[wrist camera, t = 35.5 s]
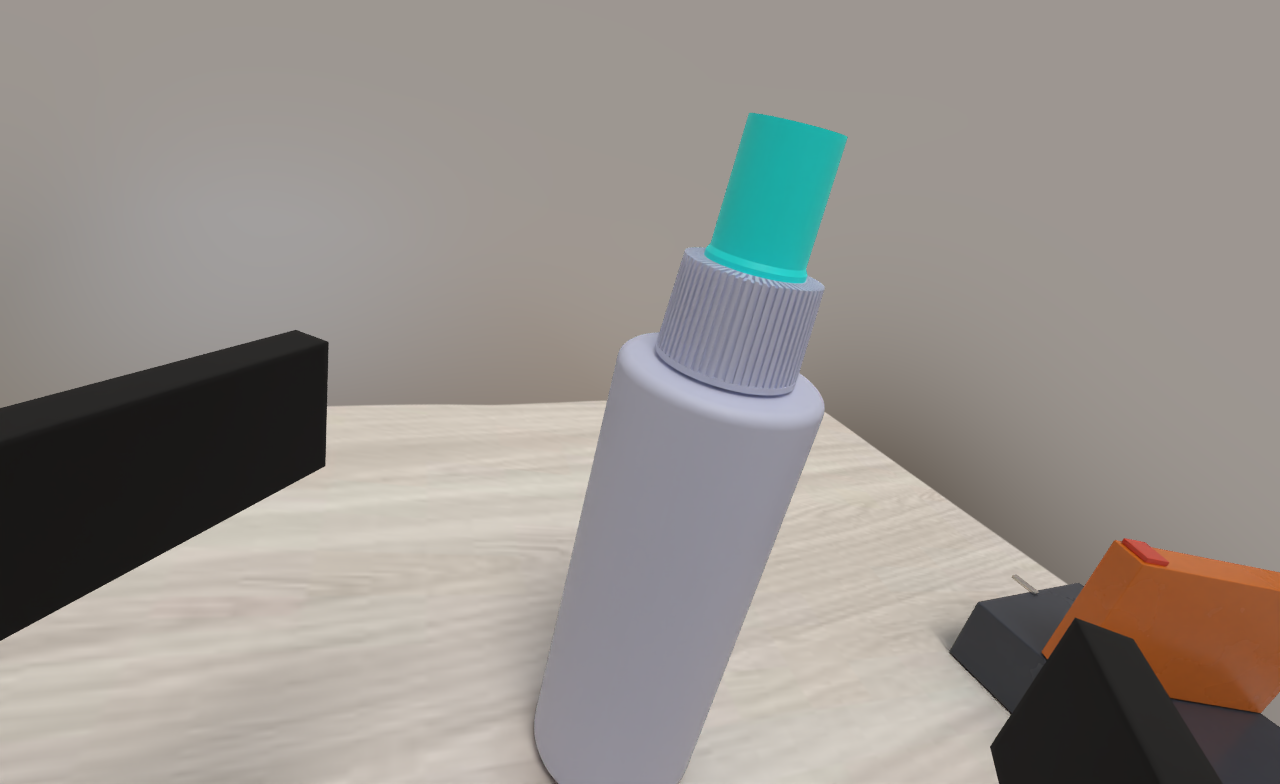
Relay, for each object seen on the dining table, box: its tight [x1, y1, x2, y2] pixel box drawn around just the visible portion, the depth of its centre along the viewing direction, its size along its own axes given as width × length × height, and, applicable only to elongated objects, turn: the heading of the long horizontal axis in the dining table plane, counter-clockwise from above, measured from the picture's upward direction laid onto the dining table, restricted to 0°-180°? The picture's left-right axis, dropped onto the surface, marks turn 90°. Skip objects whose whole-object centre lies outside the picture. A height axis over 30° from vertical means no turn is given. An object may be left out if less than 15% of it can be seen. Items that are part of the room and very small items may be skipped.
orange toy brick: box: [1042, 538, 1280, 713], centre depth 27 cm, size 10×2×7 cm, turn 91°
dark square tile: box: [950, 575, 1280, 784], centre depth 29 cm, size 14×14×4 cm
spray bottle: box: [534, 113, 848, 784], centre depth 19 cm, size 6×6×22 cm
